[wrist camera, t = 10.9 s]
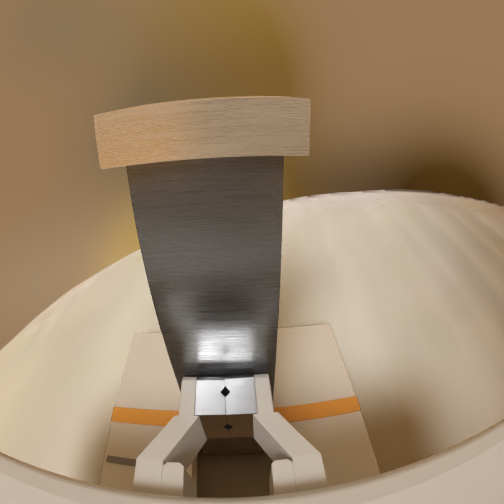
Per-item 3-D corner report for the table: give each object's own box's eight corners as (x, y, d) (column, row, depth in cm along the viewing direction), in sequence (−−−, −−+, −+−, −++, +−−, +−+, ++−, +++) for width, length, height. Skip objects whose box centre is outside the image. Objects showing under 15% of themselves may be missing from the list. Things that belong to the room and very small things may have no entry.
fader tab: (278, 457, 13) (310, 98, 5) (196, 460, 13) (93, 115, 5) (269, 395, 17) (276, 96, 9) (198, 398, 17) (146, 104, 9)
